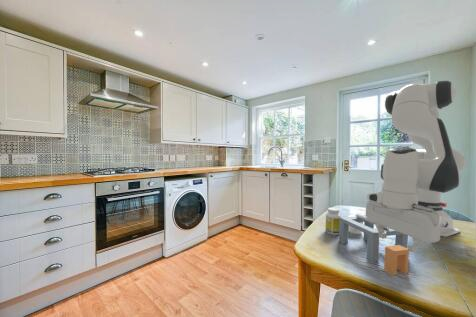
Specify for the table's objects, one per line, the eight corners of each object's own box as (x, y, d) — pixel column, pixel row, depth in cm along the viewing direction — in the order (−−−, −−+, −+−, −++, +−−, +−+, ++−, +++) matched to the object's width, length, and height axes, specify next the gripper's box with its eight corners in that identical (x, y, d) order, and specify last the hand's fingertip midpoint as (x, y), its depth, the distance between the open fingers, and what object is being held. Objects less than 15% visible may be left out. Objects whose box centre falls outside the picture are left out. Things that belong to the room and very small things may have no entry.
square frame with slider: (368, 237, 87) (369, 211, 87) (406, 257, 72) (408, 225, 71) (338, 240, 84) (339, 213, 83) (372, 261, 68) (373, 228, 68)
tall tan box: (398, 267, 65) (399, 244, 65) (407, 273, 62) (409, 249, 62) (384, 269, 64) (385, 246, 63) (393, 275, 61) (394, 251, 60)
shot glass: (365, 235, 90) (366, 219, 89) (348, 233, 91) (349, 218, 91) (359, 229, 96) (360, 215, 96) (344, 228, 98) (344, 213, 98)
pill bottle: (340, 231, 93) (341, 208, 93) (339, 236, 88) (340, 211, 88) (326, 228, 96) (327, 206, 96) (324, 233, 91) (325, 209, 91)
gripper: (448, 209, 52) (445, 261, 53) (377, 193, 72) (375, 230, 73) (430, 210, 51) (427, 263, 51) (363, 193, 71) (361, 232, 71)
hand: (396, 244), depth 62 cm, fingers open, 8 cm apart
